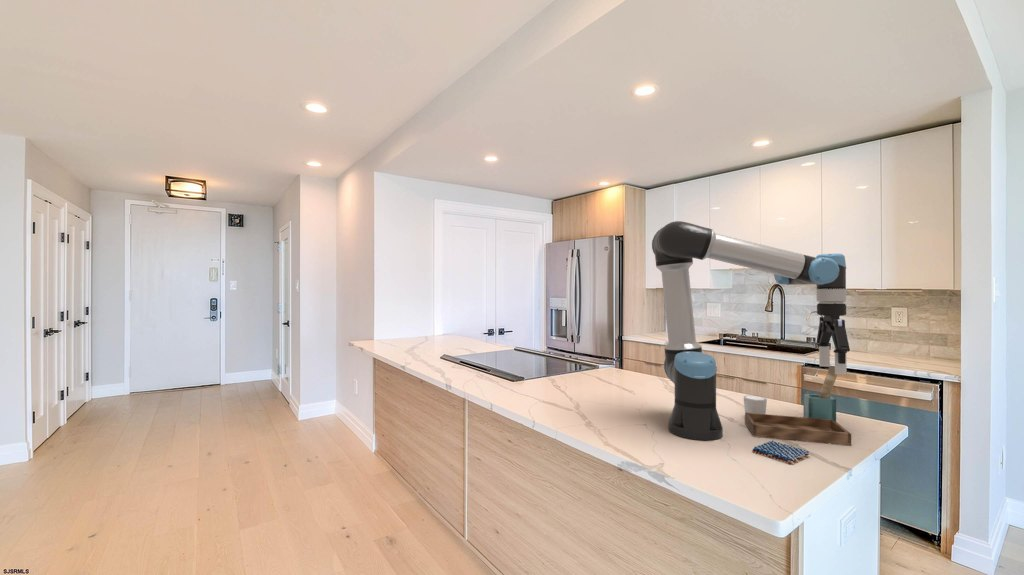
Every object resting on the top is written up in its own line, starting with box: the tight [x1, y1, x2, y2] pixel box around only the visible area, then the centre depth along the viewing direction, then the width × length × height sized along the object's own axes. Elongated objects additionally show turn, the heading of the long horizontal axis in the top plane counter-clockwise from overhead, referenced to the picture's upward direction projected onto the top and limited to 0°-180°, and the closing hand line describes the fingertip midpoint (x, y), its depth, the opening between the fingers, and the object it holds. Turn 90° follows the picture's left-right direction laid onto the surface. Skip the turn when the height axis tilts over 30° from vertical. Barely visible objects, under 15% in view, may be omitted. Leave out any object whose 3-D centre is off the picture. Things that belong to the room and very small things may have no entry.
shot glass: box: [743, 395, 768, 414], centre depth 146 cm, size 7×7×7 cm
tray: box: [744, 412, 852, 447], centre depth 131 cm, size 24×14×3 cm, turn 71°
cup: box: [803, 393, 837, 422], centre depth 140 cm, size 7×6×9 cm
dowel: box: [818, 365, 839, 398], centre depth 139 cm, size 7×3×18 cm, turn 71°
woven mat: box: [751, 439, 811, 465], centre depth 115 cm, size 10×11×2 cm
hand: (832, 370), depth 139 cm, fingers open, 13 cm apart
